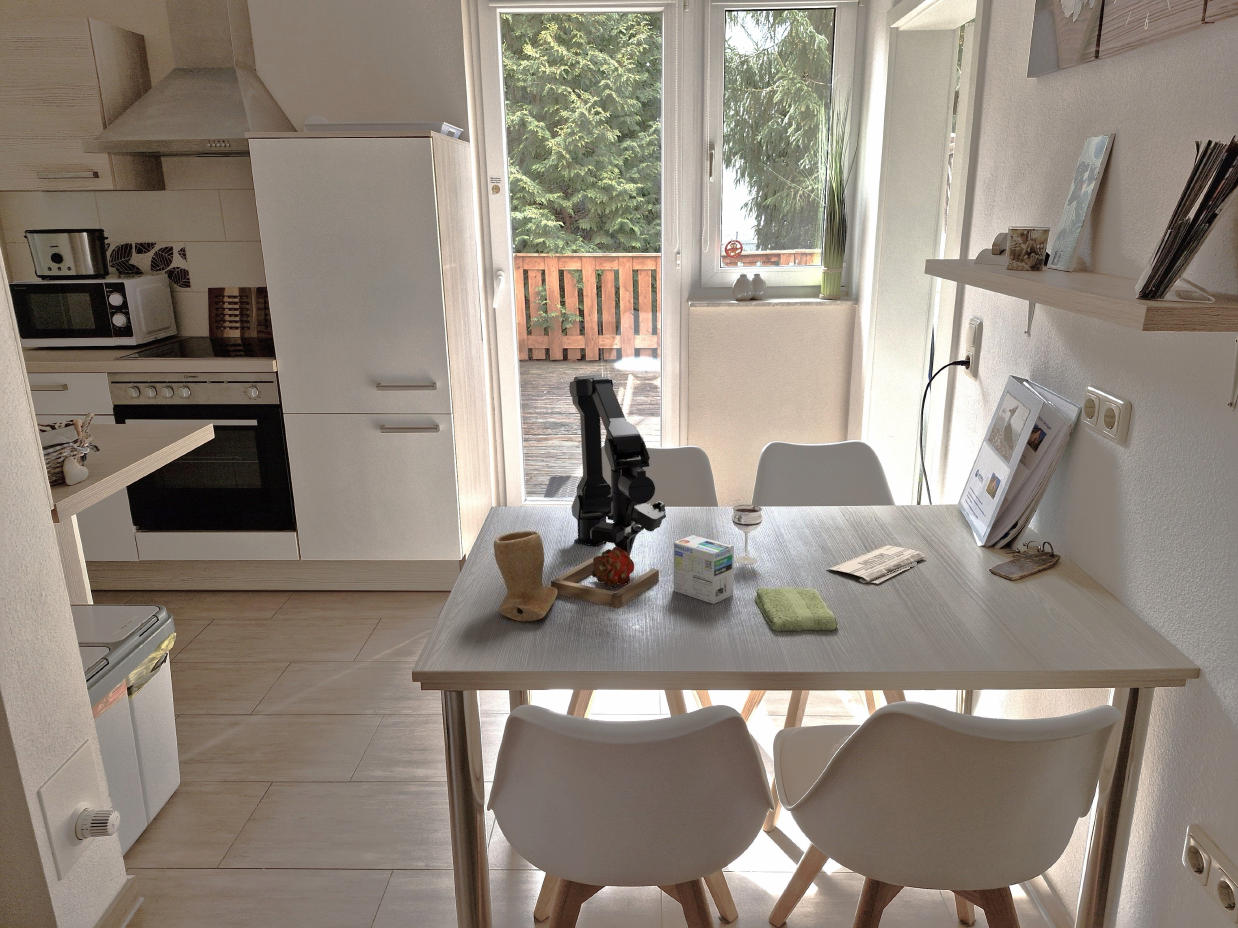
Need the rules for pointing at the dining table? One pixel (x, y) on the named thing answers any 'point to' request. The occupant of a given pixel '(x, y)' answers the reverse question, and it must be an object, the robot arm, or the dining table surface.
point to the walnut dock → (570, 588)
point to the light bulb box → (703, 568)
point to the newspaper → (880, 563)
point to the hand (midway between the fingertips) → (625, 560)
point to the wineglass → (746, 525)
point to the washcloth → (795, 609)
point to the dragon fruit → (613, 567)
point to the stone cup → (523, 576)
